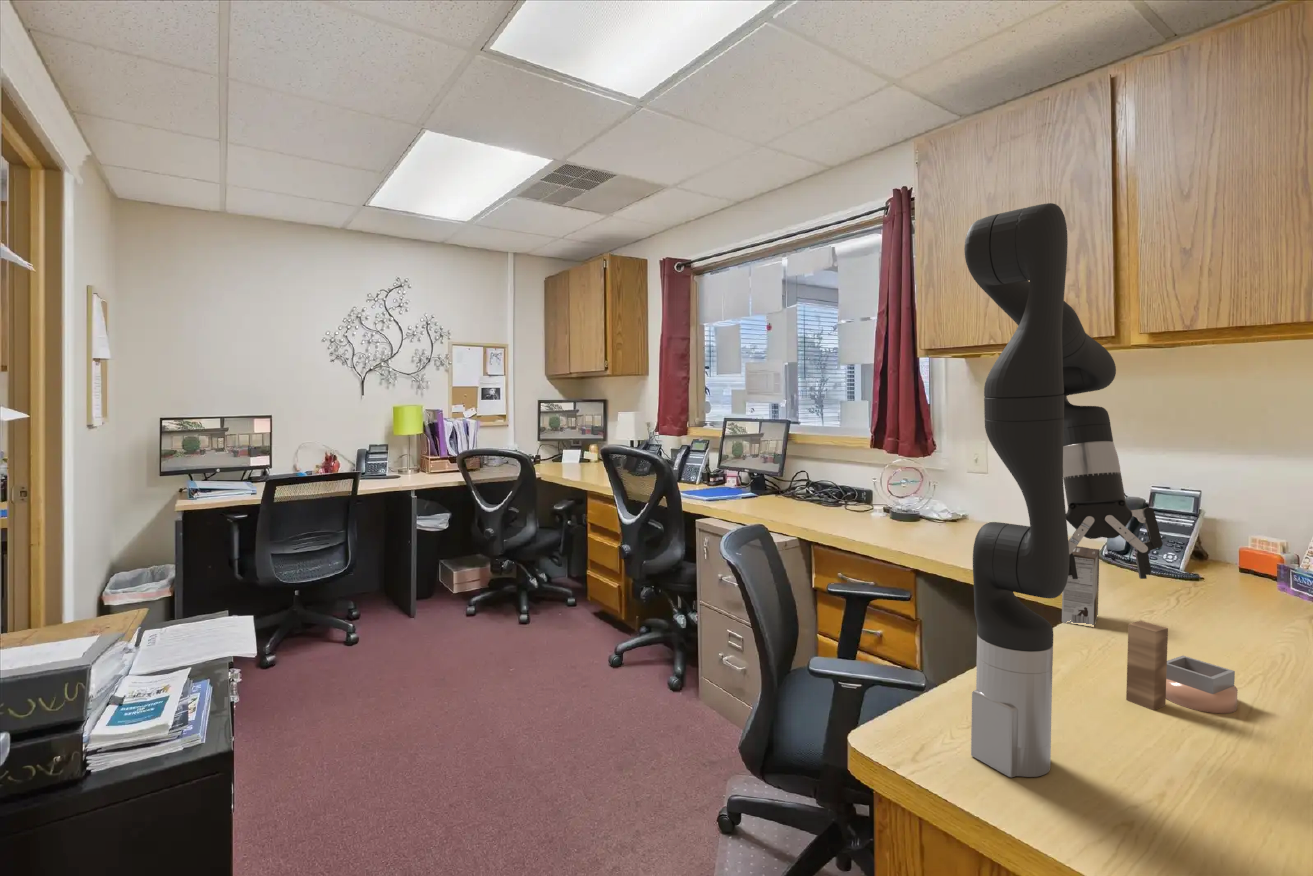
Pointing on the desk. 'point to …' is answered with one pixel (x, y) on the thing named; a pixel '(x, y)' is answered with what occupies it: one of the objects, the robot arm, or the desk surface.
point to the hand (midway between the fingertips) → (1108, 578)
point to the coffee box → (1082, 588)
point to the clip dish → (1201, 685)
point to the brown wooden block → (1147, 664)
